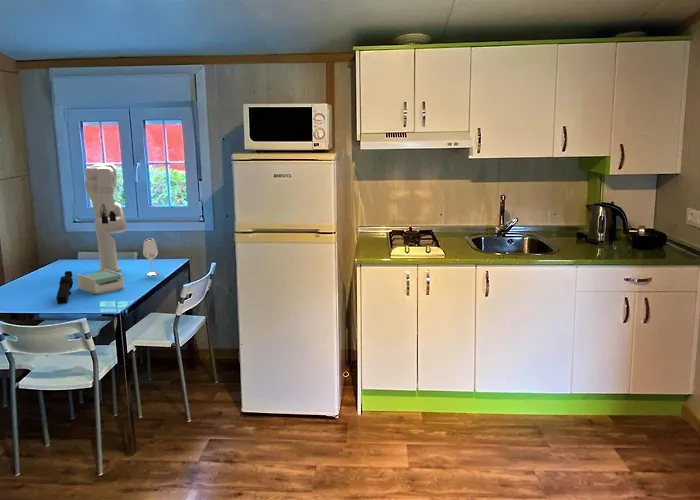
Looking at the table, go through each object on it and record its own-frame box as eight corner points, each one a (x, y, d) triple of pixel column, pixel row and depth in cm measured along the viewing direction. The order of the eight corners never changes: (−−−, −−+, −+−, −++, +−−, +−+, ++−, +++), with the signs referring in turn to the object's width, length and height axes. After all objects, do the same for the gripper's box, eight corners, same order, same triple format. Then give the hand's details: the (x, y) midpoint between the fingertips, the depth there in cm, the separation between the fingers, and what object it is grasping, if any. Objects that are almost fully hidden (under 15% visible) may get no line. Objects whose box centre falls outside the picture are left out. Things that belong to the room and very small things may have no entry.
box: (78, 288, 317) (76, 273, 315) (106, 282, 327) (104, 268, 326) (95, 294, 303) (94, 279, 302) (123, 288, 314) (122, 274, 312)
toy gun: (76, 284, 313) (73, 268, 308) (70, 311, 292) (66, 294, 287) (65, 285, 311) (61, 268, 307) (57, 312, 291) (54, 295, 286)
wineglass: (155, 275, 341) (152, 241, 336) (142, 275, 342) (139, 240, 338) (162, 272, 348) (159, 238, 344) (149, 272, 350) (146, 238, 346)
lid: (81, 279, 315) (80, 275, 315) (105, 274, 324) (104, 270, 324) (94, 284, 304) (94, 280, 304) (119, 279, 314) (118, 275, 313)
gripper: (106, 189, 332) (109, 220, 336) (91, 192, 315) (95, 224, 319) (119, 189, 332) (122, 220, 335) (105, 192, 315) (109, 224, 318)
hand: (109, 222), depth 327 cm, fingers open, 9 cm apart
